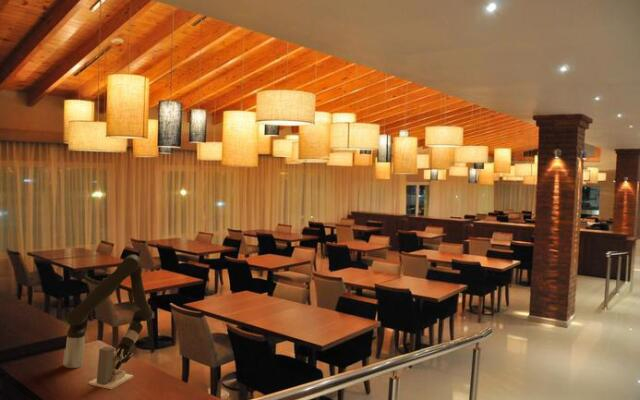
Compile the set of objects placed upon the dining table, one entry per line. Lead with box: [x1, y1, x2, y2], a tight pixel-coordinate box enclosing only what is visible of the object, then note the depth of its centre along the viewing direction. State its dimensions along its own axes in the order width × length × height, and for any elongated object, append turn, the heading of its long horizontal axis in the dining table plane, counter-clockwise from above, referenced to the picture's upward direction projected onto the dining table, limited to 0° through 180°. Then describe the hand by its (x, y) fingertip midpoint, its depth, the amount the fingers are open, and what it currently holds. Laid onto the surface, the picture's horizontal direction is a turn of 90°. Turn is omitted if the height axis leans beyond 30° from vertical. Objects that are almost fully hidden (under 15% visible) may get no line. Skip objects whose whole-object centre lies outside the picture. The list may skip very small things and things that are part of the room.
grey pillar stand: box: [88, 346, 134, 390], centre depth 261 cm, size 14×18×19 cm
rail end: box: [112, 355, 122, 376], centre depth 263 cm, size 4×4×10 cm
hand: (112, 368), depth 261 cm, fingers closed on rail end, 4 cm apart
